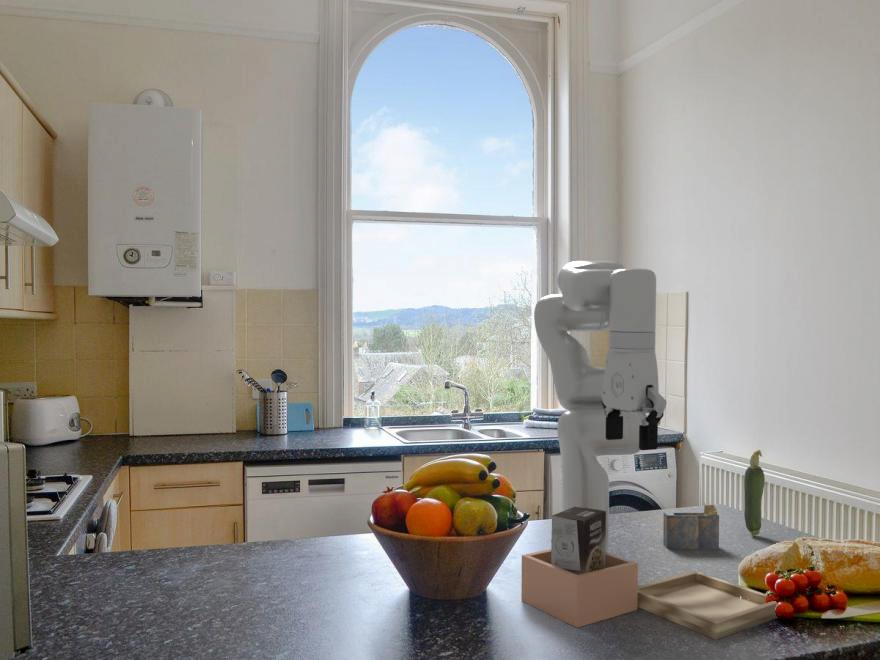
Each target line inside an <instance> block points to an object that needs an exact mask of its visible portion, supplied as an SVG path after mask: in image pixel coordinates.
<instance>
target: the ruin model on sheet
mask: <svg viewBox="0 0 880 660" xmlns="http://www.w3.org/2000/svg"><path fill="white" fill-rule="evenodd" d="M703 506H704V508H703V509H704V510H703V512H673V514H667V513H666V512H663V539H662V540H663V541H662V542H663V546H664V547H665V548H666V549H671V550H673V549H677V550H678V549H679V550H680V549H681V550H682V549H683V550H686V549H688V550H689V549H693V550H694V549H695V550H697V549H698V550H704V549H705V550H719V549H720V515H718V511H717V509H716V507H715V505H714V503H712V504H706V503H705V502H704V503H703Z"/></svg>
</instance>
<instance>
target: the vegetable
mask: <svg viewBox="0 0 880 660" xmlns="http://www.w3.org/2000/svg"><path fill="white" fill-rule="evenodd" d="M759 456H760V457H759ZM761 457H763V455H762V451H761V449H758V450H756V451H754V452H753V454H751V456H750V461H749V466H748V467H747V468H746V469H745V472H744V481H743V482H744V485H743V489H744V512H743V513H744V522H745V527H746V528H747V531H748V532H749V534H750V535H751V536H752V537H755V536H758V535H759V533H760V530H761V528H762V510H761V509H762V505H761V504H762V497H763V496H764V488H765V483H766V482H765V480H766V479H765V473H764V470H763V469H762V467H761V466H760V458H761Z"/></svg>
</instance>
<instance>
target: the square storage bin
mask: <svg viewBox="0 0 880 660" xmlns="http://www.w3.org/2000/svg"><path fill="white" fill-rule="evenodd" d="M638 565H639V563H638V562H636V561H633V560H630V559H627V558H624V557H621V556H619V555H615V554H613V553H610V552H609V553H608V552H606V556H605V569H601V570H597V571H592V572H588V573H584V574H580V575H576V574H574V573H571V572H569V571H566V570H564V569H561V568H559V567H556V566H554V565H551V548H549V549H544V550H540V551H535V552H531V553H527V554H522V555H521V593H520V594H521V600H522V601H521V602H524V603H525V604H528V605H530V606H531V607H534V608H535V609H538V610H540V611H542V612H544V613H546V614H549V615H550V616H553V617H554V618H557V619H558V620H561V621H562V622H564V623H567V624H568V625H571V626H573V627H574V628H581V627H584V626H587V625H590V624H591V625H592V624H594V623H597V622H601V621H604V620H607V619H611V618H615V617H618V616H621V615H624V614H627V613H631V612H635V611H637V610H638V607H637V604H638V586H639V585H638V583H639V582H638V581H639V579H638V578H639V577H638V576H639V575H638V573H639V569H638V568H639V567H638Z"/></svg>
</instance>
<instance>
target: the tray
mask: <svg viewBox="0 0 880 660" xmlns="http://www.w3.org/2000/svg"><path fill="white" fill-rule="evenodd" d="M766 595H767V594H765V593H763V592H760V591H757V590H754V589H751V588H747V587H745V586H742V585H739V584H736V583H733V582H730V581H727V580H724V579H721V578H717V577H714V576H712V575H708V574H706V573H704V572H700V571H697V570H693V571H690V572H689V571H688V572H686V573H682V574H678V575H675V576H670V577H668V578H664V579H660V580H656V581H652V582H648V583H645V584H641V585H638V604H637V608H638V609H642V610H643V611H646V612H649V613H651V614H654V615H656V616H658V617H660V618H664V619H666V620H668V621H671V622H673V623H675V624H677V625H679V626H681V627H685V628H687V629H690V630H691V631H695V632H696V633H699V634H702V635H705V636H706V637H709V638H712V639H714V640H717V641H718V640H720V639H723V638H726V637H728V636H730V635H734V634H736V633H737V634H738V633H739V632H743V631H745V630H748V629H750V628H753V627H756V626H759V625H762V624H764V623H767V622H770V621H773V620H775V619H779V618H778V617H777V616H776V613H775V606H776V604H777V602H776V601H771V602H768V603H765V597H766ZM740 596H741V597H742V598H741V600H740ZM748 599H749V600H748Z"/></svg>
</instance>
